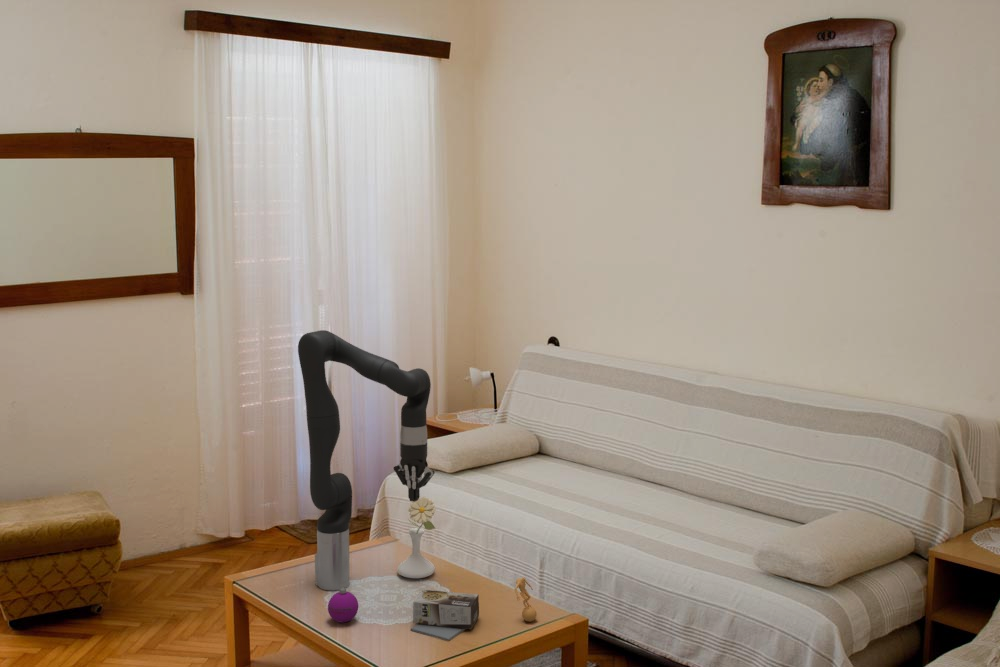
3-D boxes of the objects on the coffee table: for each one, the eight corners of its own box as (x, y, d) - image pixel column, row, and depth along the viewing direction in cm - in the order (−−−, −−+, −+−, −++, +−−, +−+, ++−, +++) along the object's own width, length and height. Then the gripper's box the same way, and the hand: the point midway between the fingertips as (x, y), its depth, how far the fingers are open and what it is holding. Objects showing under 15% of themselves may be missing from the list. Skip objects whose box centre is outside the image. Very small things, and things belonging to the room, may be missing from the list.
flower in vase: (389, 576, 303) (388, 496, 299) (413, 564, 312) (413, 487, 308) (423, 586, 295) (422, 504, 292) (446, 574, 305) (447, 494, 301)
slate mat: (410, 630, 266) (410, 628, 266) (433, 615, 275) (433, 613, 275) (448, 641, 260) (448, 638, 260) (471, 625, 269) (471, 623, 269)
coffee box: (412, 624, 268) (471, 630, 265) (412, 601, 267) (471, 607, 264) (422, 610, 277) (479, 616, 274) (422, 588, 276) (479, 594, 273)
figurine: (528, 628, 268) (529, 585, 266) (508, 623, 271) (509, 581, 269) (542, 616, 275) (543, 575, 273) (523, 612, 278) (523, 570, 276)
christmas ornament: (362, 616, 275) (362, 581, 273) (352, 629, 267) (351, 593, 265) (334, 613, 276) (334, 578, 275) (323, 626, 268) (322, 590, 267)
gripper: (386, 440, 280) (386, 500, 282) (425, 446, 273) (425, 508, 276) (402, 434, 286) (402, 493, 289) (441, 440, 280) (441, 501, 282)
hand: (414, 500), depth 282 cm, fingers closed
